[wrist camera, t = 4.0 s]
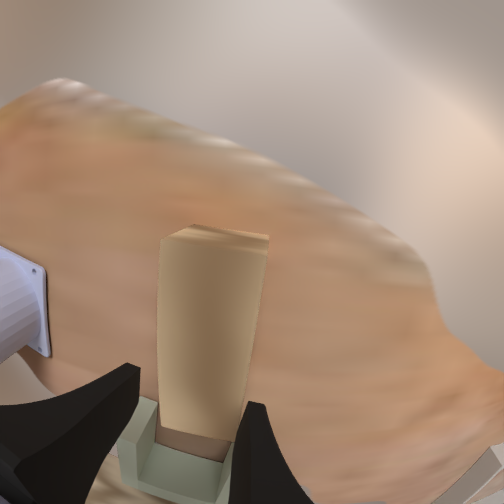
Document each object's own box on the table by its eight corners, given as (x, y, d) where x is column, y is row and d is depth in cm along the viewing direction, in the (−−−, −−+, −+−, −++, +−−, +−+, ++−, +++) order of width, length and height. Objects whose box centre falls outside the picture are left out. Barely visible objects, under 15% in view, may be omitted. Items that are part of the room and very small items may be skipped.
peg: (184, 375, 17) (161, 425, 12) (195, 224, 15) (160, 239, 10) (244, 386, 17) (235, 442, 12) (269, 234, 15) (267, 255, 10)
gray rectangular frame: (401, 526, 22) (405, 543, 18) (489, 446, 18) (502, 465, 14) (501, 490, 22) (507, 501, 18) (562, 419, 17) (571, 429, 13)
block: (139, 448, 19) (122, 482, 15) (140, 395, 18) (116, 435, 13) (234, 476, 19) (227, 515, 15) (256, 430, 18) (252, 477, 13)
